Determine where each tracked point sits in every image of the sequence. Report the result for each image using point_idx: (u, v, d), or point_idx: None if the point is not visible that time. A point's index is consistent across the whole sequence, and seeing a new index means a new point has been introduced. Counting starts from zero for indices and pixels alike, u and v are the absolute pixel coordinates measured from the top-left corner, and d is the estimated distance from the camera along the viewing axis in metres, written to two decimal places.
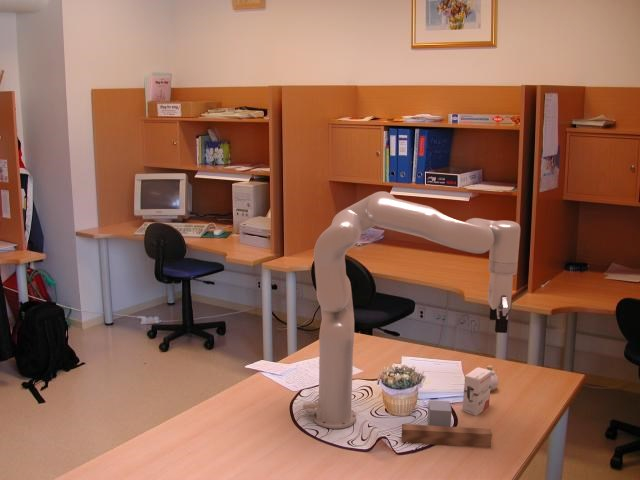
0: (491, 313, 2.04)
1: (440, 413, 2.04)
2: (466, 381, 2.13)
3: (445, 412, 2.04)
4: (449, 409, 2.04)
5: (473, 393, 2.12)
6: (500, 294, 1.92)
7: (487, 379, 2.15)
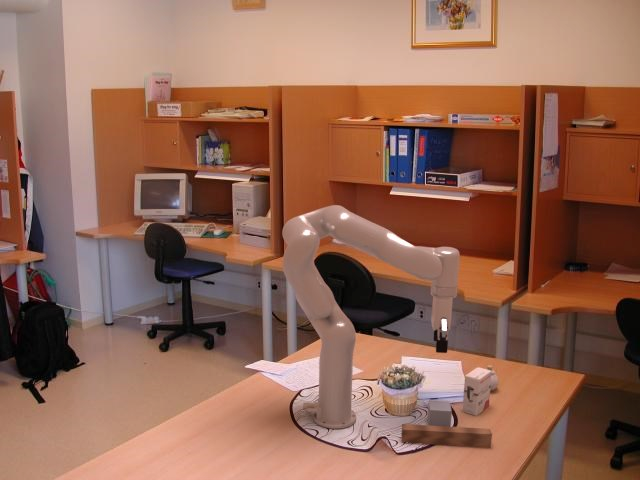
0: (435, 335, 2.16)
1: (440, 413, 2.04)
2: (466, 381, 2.13)
3: (445, 412, 2.04)
4: (449, 409, 2.04)
5: (473, 393, 2.12)
6: (440, 316, 2.05)
7: (487, 379, 2.15)
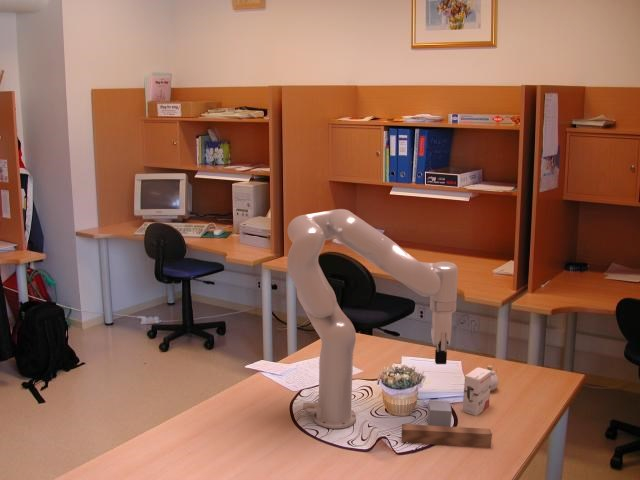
0: None
1: (440, 413, 2.04)
2: (466, 381, 2.13)
3: (445, 412, 2.04)
4: (449, 409, 2.04)
5: (473, 393, 2.12)
6: (440, 331, 2.06)
7: (487, 379, 2.15)
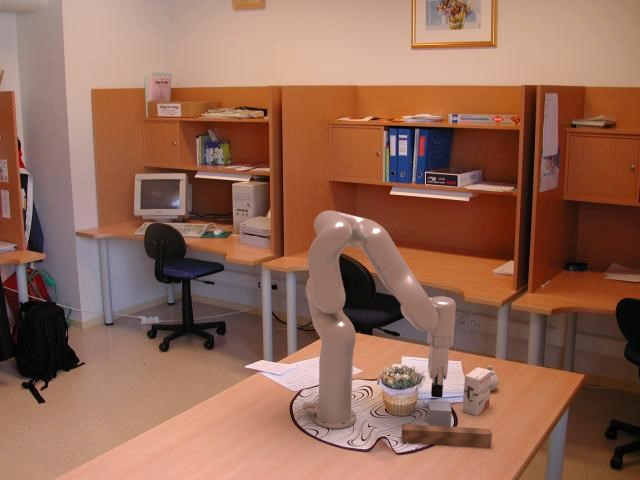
0: None
1: (440, 413, 2.04)
2: (466, 381, 2.13)
3: (445, 412, 2.04)
4: (449, 409, 2.04)
5: (473, 393, 2.12)
6: (437, 365, 2.08)
7: (487, 379, 2.15)
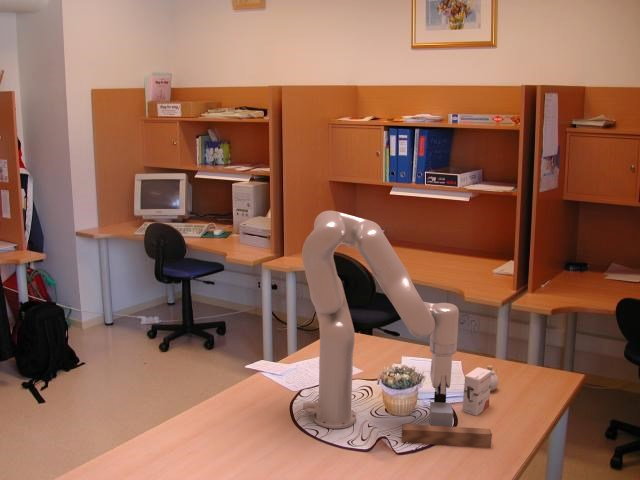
0: None
1: (441, 415, 2.02)
2: (466, 381, 2.13)
3: (447, 414, 2.02)
4: (451, 411, 2.03)
5: (473, 393, 2.12)
6: (440, 374, 2.02)
7: (487, 379, 2.15)
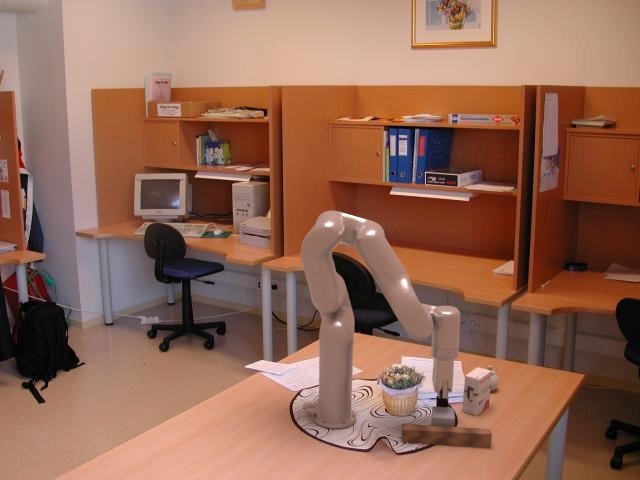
0: None
1: (442, 420, 1.99)
2: (466, 381, 2.13)
3: (448, 420, 1.99)
4: (452, 417, 2.00)
5: (473, 393, 2.12)
6: (442, 378, 1.99)
7: (487, 379, 2.15)
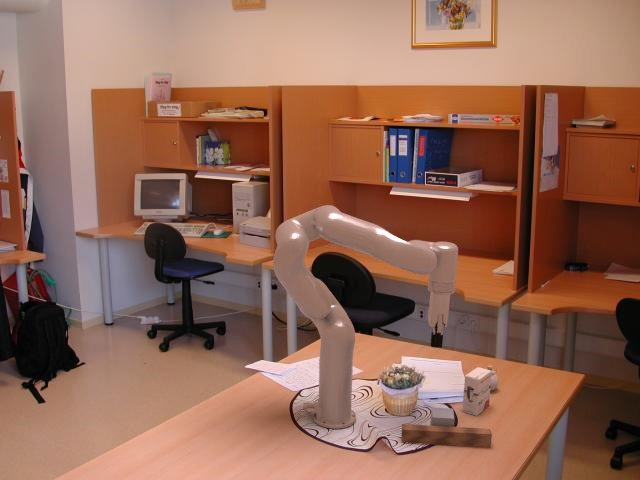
0: None
1: (442, 420, 2.00)
2: (466, 381, 2.13)
3: (448, 420, 1.99)
4: (452, 417, 2.00)
5: (473, 393, 2.12)
6: (437, 312, 2.01)
7: (487, 379, 2.15)
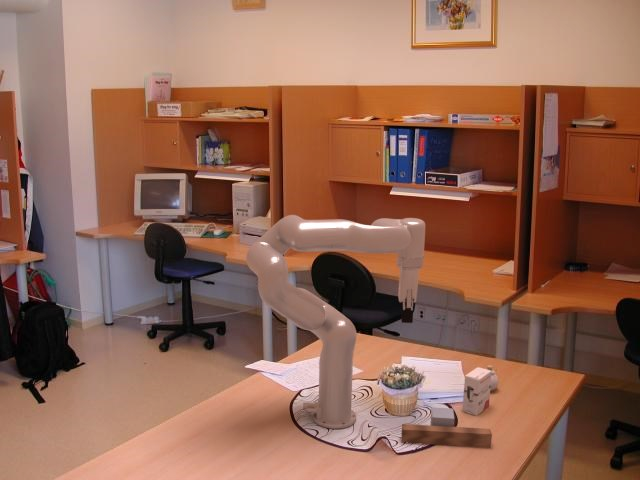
0: None
1: (442, 420, 2.00)
2: (466, 381, 2.13)
3: (448, 420, 1.99)
4: (452, 417, 2.00)
5: (473, 393, 2.12)
6: (406, 287, 2.04)
7: (487, 379, 2.15)
